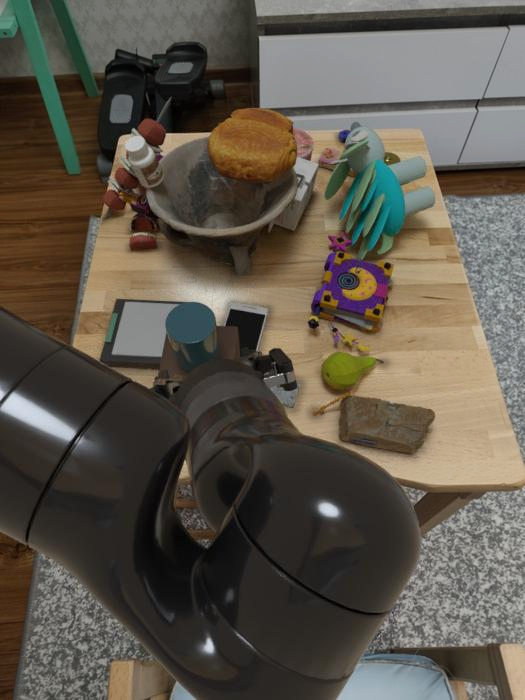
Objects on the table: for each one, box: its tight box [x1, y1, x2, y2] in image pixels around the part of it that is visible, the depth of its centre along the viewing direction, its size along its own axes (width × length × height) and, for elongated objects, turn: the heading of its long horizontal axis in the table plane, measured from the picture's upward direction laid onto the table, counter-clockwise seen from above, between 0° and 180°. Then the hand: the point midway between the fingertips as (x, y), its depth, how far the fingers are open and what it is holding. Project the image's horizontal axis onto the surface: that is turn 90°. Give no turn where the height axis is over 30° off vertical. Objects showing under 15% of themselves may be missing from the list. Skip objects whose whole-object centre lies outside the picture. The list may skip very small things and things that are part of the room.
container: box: [293, 127, 315, 161], centre depth 103 cm, size 10×10×8 cm
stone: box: [338, 395, 436, 455], centre depth 73 cm, size 14×7×5 cm, turn 78°
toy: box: [317, 147, 357, 178], centre depth 107 cm, size 12×2×5 cm
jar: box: [165, 301, 221, 373], centre depth 62 cm, size 6×6×8 cm
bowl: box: [145, 136, 298, 278], centre depth 90 cm, size 27×26×15 cm
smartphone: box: [223, 301, 269, 357], centre depth 84 cm, size 7×16×1 cm, turn 168°
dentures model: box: [128, 213, 160, 250], centre depth 95 cm, size 6×4×8 cm
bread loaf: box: [207, 107, 297, 183], centre depth 82 cm, size 14×16×8 cm
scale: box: [99, 298, 187, 370], centre depth 84 cm, size 14×13×3 cm
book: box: [307, 231, 396, 352], centre depth 84 cm, size 14×25×12 cm, turn 162°
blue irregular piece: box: [337, 129, 351, 144], centre depth 112 cm, size 9×5×3 cm, turn 40°
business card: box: [267, 373, 301, 408], centre depth 79 cm, size 9×5×1 cm, turn 74°
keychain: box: [312, 390, 355, 416], centre depth 75 cm, size 8×1×1 cm
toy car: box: [119, 188, 159, 223], centre depth 95 cm, size 6×12×5 cm
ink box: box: [267, 157, 320, 234], centre depth 97 cm, size 9×5×15 cm
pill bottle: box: [124, 136, 164, 188], centre depth 80 cm, size 4×4×8 cm
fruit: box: [321, 351, 385, 390], centre depth 79 cm, size 6×6×12 cm
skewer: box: [101, 96, 173, 221], centre depth 95 cm, size 5×5×30 cm
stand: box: [157, 325, 240, 378], centre depth 72 cm, size 10×10×15 cm
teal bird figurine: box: [324, 121, 436, 261], centre depth 91 cm, size 14×26×18 cm
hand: (206, 367), depth 50 cm, fingers open, 8 cm apart
